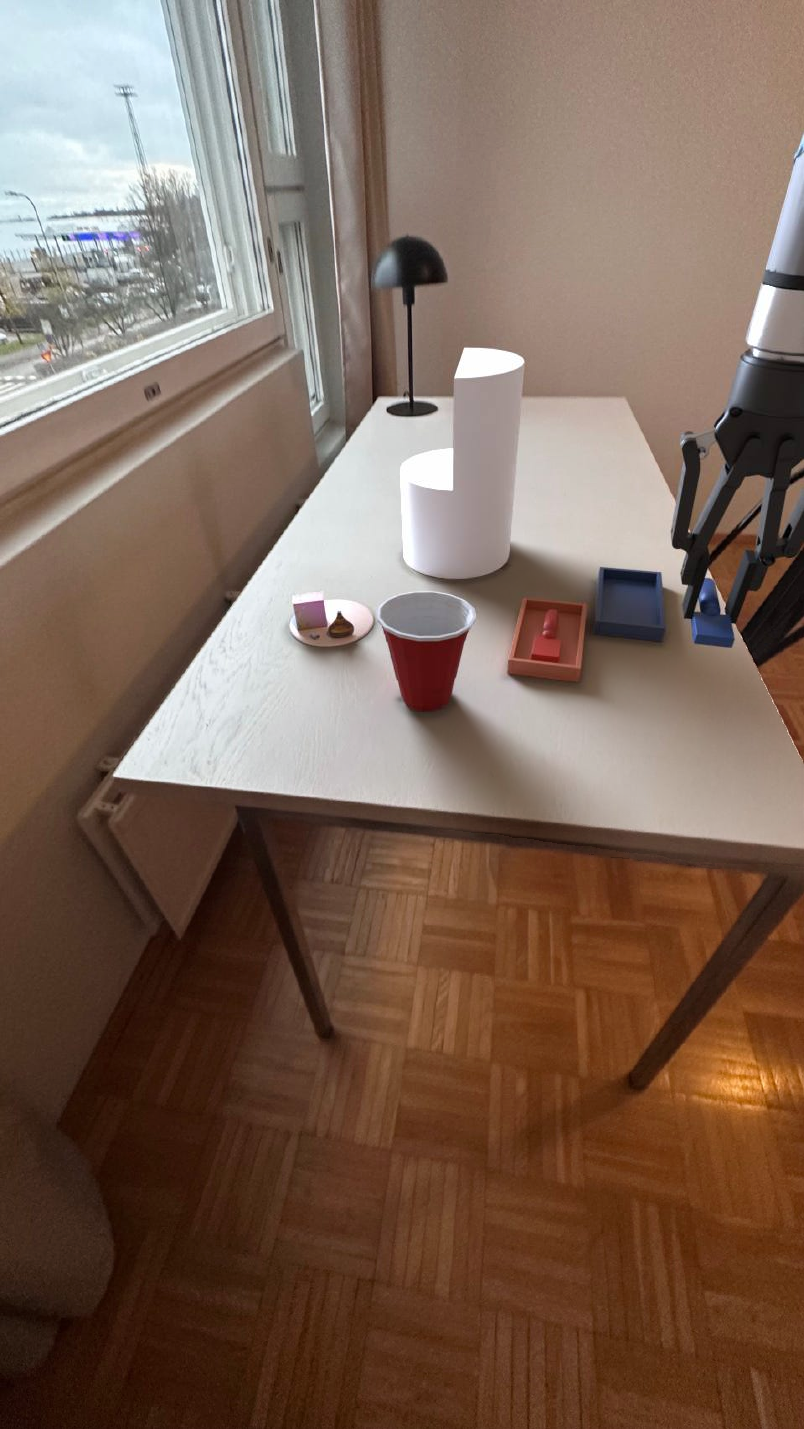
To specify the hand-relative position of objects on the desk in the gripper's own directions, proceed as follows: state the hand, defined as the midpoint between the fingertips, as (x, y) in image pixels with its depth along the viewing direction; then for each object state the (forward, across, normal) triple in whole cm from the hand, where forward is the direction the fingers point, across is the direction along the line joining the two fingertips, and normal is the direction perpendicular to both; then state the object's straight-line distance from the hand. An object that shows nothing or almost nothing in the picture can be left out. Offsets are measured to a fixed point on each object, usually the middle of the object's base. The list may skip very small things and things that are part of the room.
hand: (708, 613), depth 64 cm
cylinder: (+14, +32, -34) cm, 49 cm away
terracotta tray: (+13, +15, -11) cm, 23 cm away
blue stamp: (0, 0, 0) cm, 0 cm away
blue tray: (+13, +5, -22) cm, 26 cm away
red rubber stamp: (+13, +15, -11) cm, 23 cm away
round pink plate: (+13, +45, -10) cm, 48 cm away
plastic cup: (+13, +28, +3) cm, 32 cm away
